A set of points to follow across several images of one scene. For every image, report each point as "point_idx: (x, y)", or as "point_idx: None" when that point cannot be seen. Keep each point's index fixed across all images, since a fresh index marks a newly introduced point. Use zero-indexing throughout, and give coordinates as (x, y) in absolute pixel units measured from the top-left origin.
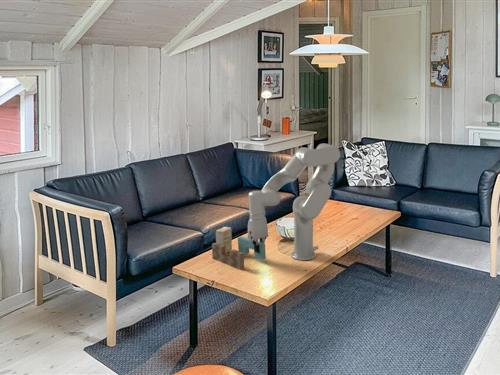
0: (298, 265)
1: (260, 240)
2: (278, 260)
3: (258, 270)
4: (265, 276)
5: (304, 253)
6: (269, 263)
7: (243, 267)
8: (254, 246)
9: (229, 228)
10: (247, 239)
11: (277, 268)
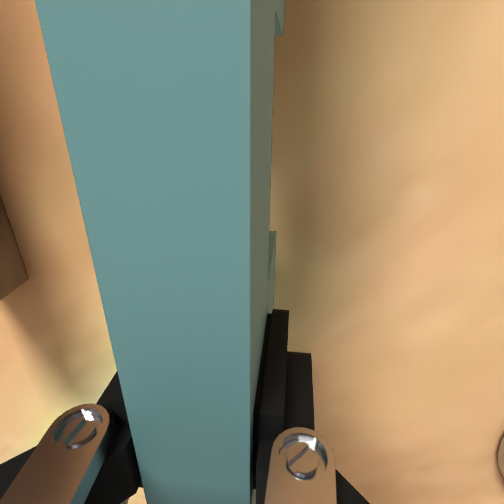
0: (393, 490)
1: (279, 491)
2: (395, 359)
3: (112, 374)
4: None
5: None
6: None
7: (11, 284)
8: (108, 396)
9: None
10: (127, 19)
11: None
